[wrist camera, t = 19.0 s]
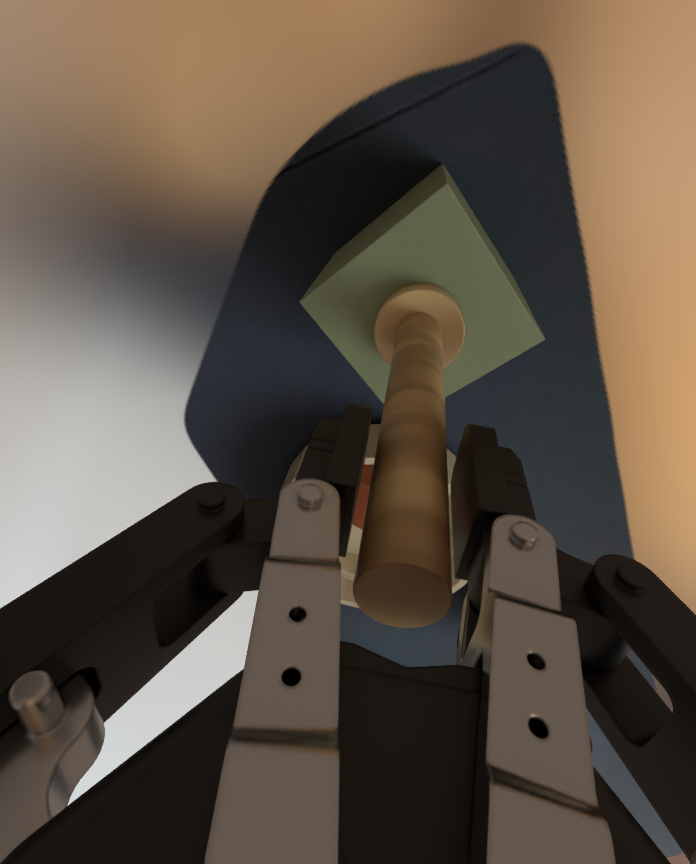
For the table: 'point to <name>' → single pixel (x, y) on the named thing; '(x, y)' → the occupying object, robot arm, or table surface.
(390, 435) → the stick
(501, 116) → the table surface
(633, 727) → the robot arm
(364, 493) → the block
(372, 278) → the stand
